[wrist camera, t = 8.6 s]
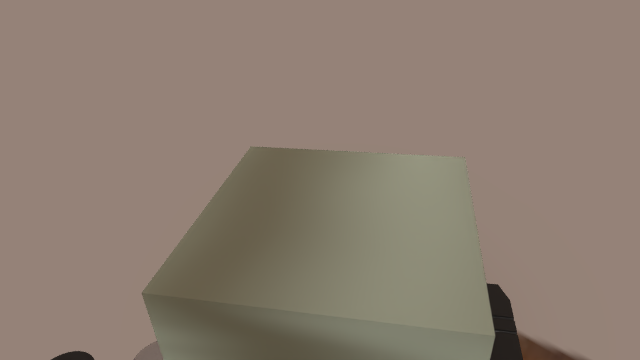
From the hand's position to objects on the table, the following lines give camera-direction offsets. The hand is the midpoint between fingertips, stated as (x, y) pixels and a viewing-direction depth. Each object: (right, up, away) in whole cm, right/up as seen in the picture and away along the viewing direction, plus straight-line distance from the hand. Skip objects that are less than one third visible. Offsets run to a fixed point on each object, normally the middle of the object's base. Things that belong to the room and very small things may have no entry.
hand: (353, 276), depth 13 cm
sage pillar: (0, -7, +1) cm, 7 cm away
